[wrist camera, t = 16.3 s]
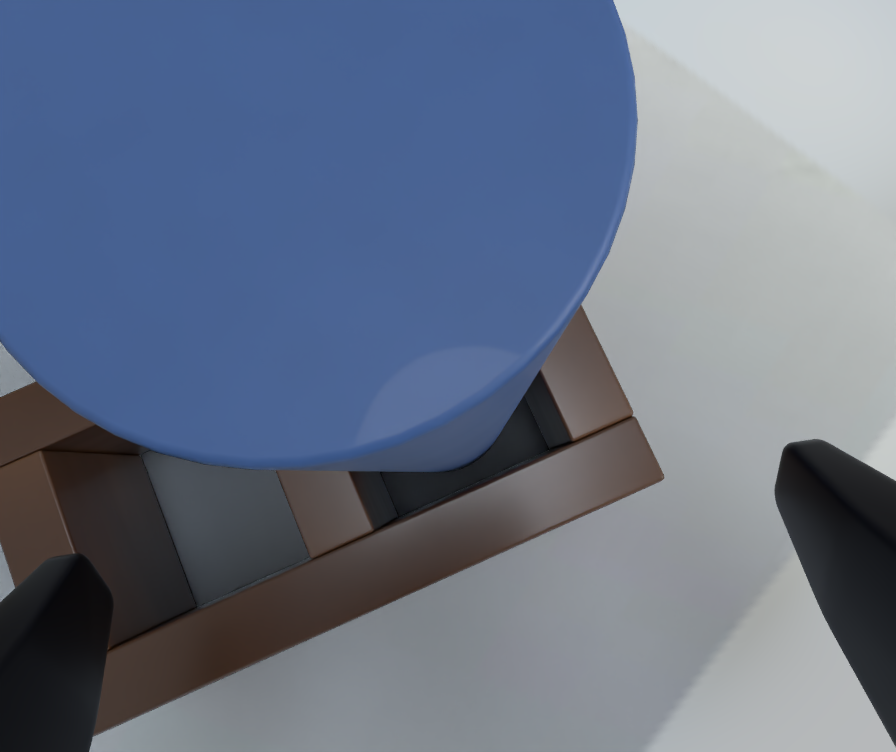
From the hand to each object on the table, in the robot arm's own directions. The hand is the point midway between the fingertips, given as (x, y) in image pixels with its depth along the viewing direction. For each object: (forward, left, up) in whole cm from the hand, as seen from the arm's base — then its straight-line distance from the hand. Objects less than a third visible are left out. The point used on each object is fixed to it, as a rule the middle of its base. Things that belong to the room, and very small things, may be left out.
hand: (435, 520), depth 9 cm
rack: (+2, +2, -8) cm, 8 cm away
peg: (+2, -1, -8) cm, 8 cm away
